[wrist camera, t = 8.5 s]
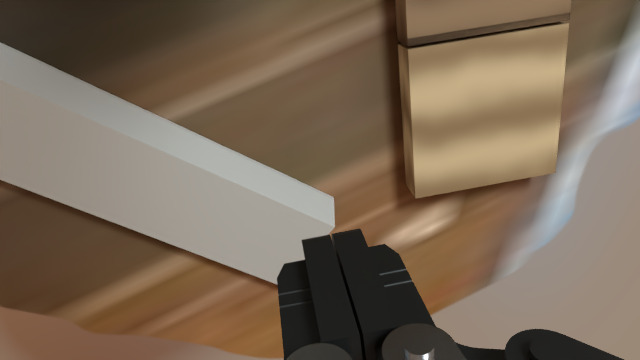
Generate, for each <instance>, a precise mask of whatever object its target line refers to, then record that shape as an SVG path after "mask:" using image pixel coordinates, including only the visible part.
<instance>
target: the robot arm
mask: <svg viewBox="0 0 640 360" xmlns="http://www.w3.org/2000/svg"><path fill="white" fill-rule="evenodd" d="M332 243H333V244H332ZM302 246H303V252H304V257H305V260H300V261H295V262H290V263H285V264H284V265H283V267H282V269H281V271H280V273H279V275H278V277H277V285H278V294H279V306H280V317H281V328H282V338H283V349H284V360H624V359H621V358H619V357H616V356H614V355H611V354H609V353H607V352H604V351H602V350H599V349H597V348H595V347H592V346H590V345H587V344H585V343H582V342H580V341H577V340H575V339H573V338H570V337H568V336H566V335H563V334H560V333H558V332H554V331H550V330H544V329H531V330H525V331H522V332H519V333H517V334H515V335H514V336H512V337H511V338H510V339H509V341H508V343H507V344H506V348H505V350H500V349H483V348H472V347H468V346H464V345H461V344H458V343H456V342H454V340H453V339H452V338H451V337H450V335H448V334H447V333H446V332H445V331H443V330H442V329H440V328H437V327H436V326H435V324H434V322H433V320H432V318H431V316H430V314H429V312H428V310H427V308H426V306H425V304H424V303H423V301H422V299H421V297H420V295H419V293H418V291H417V289H416V287H415V285H414V283H413V282H412V279H411V277H410V275H409V273H408V271H406V267H405V265H404V263H403V261H402V259H401V257H400V256H399V254H398V253H396V252H395V251H394V250H392V249H391V248H389V247H388V246H387V245H385V244H382V245H377V246H372V247H368V246H367V243H366V241H365V238H364V236H363V234H362V231H361V229H355V230H350V231H345V232H339V233H334V234H332V240H331V237H330V235H324V236H319V237H314V238H308V239H303V240H302Z"/></svg>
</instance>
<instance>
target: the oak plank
mask: <svg viewBox="0 0 640 360" xmlns="http://www.w3.org/2000/svg"><path fill="white" fill-rule="evenodd" d="M568 30H569V23H564V22H554V23H547V24H541V25H535V26H529V27H523V28H517V29H511V30H504V31H498V32H492V33H486V34H480V35H474V36H468V37H461V38H455V39H449V40H443V41H437V42H431V43H425V44H418V45H412V46H407V45H405V44H403V43H401V44H398V57H399V74H400V91H401V108H402V125H403V142H404V159H405V176H406V186H407V187H408V189H409V190H410V191H411V193H412V194H413V196H414V197H415V199H416V198H422V197H427V196H432V195H438V194H443V193H449V192H454V191H459V190H465V189H470V188H476V187H481V186H486V185H492V184H497V183H503V182H508V181H513V180H519V179H524V178H529V177H535V176H540V175H546V174H551V173H555V170H556V159H557V149H558V138H559V127H560V116H561V106H562V95H563V84H564V73H565V62H566V52H567V41H568Z"/></svg>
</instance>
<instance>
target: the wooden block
mask: <svg viewBox="0 0 640 360" xmlns="http://www.w3.org/2000/svg"><path fill="white" fill-rule="evenodd" d="M395 6H396V23H397V40H398V41H399V42H401V43H403V44H405V45H407V46H412V45H418V44H425V43H431V42H437V41H443V40H449V39H455V38H461V37H468V36H474V35H480V34H486V33H492V32H498V31H504V30H511V29H517V28H523V27H529V26H535V25H541V24H547V23H554V22H560V21H566V20H569V19H570V8H571V0H395Z"/></svg>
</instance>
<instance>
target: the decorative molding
mask: <svg viewBox="0 0 640 360" xmlns="http://www.w3.org/2000/svg"><path fill="white" fill-rule="evenodd" d="M0 180H2V181H5V182H8V183H10V184H13V185H16V186H18V187H21V188H24V189H26V190H29V191H31V192H34V193H37V194H39V195H42V196H45V197H47V198H50V199H53V200H55V201H58V202H60V203H63V204H66V205H68V206H71V207H74V208H76V209H79V210H82V211H84V212H87V213H90V214H92V215H95V216H97V217H100V218H103V219H105V220H108V221H111V222H113V223H116V224H119V225H121V226H124V227H126V228H129V229H132V230H134V231H137V232H140V233H142V234H145V235H148V236H150V237H153V238H156V239H158V240H161V241H163V242H166V243H169V244H171V245H174V246H177V247H179V248H182V249H185V250H187V251H190V252H192V253H195V254H198V255H200V256H203V257H206V258H208V259H211V260H214V261H216V262H219V263H222V264H224V265H227V266H229V267H232V268H235V269H237V270H240V271H243V272H245V273H248V274H251V275H253V276H256V277H258V278H261V279H264V280H266V281H269V282H272V283H274V284H277V277H278V275H279V273H280V271H281V269H282V267H283V265H284V264H285V263H290V262H295V261H300V260H305V257H304V252H303V246H302V240H303V239H308V238H314V237H319V236H324V235H328V234H329V233H330V232H331V231H332V230H333V228H334V227H335V219H334V198H333V197H332V196H330V195H328V194H326V193H324V192H321V191H319V190H317V189H315V188H313V187H311V186H309V185H306V184H304V183H302V182H300V181H298V180H296V179H294V178H292V177H289V176H287V175H285V174H283V173H281V172H279V171H277V170H274V169H272V168H270V167H268V166H266V165H263V164H261V163H259V162H257V161H255V160H252V159H250V158H248V157H246V156H244V155H242V154H240V153H237V152H235V151H233V150H231V149H229V148H227V147H224V146H222V145H220V144H218V143H216V142H214V141H212V140H209V139H207V138H205V137H203V136H201V135H199V134H196V133H194V132H192V131H190V130H188V129H186V128H184V127H182V126H179V125H177V124H175V123H173V122H171V121H169V120H167V119H164V118H162V117H160V116H158V115H156V114H154V113H151V112H149V111H147V110H145V109H143V108H140V107H138V106H136V105H134V104H132V103H130V102H127V101H125V100H123V99H121V98H119V97H117V96H114V95H112V94H110V93H108V92H106V91H104V90H102V89H99V88H97V87H95V86H93V85H91V84H89V83H86V82H84V81H82V80H80V79H78V78H76V77H74V76H71V75H69V74H67V73H65V72H63V71H61V70H59V69H56V68H54V67H52V66H50V65H48V64H46V63H44V62H42V61H39V60H37V59H35V58H33V57H31V56H29V55H26V54H24V53H22V52H20V51H18V50H16V49H13V48H11V47H9V46H7V45H5V44H2V43H0Z"/></svg>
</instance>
